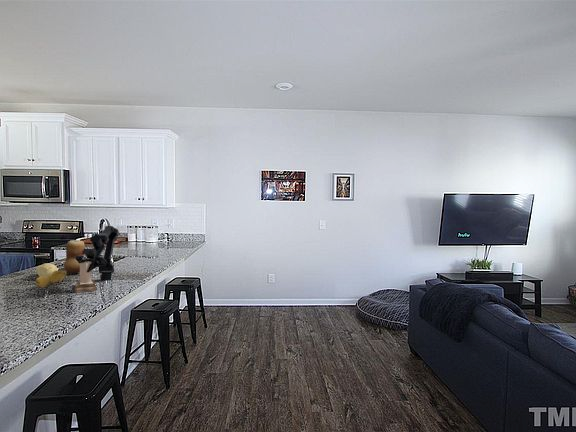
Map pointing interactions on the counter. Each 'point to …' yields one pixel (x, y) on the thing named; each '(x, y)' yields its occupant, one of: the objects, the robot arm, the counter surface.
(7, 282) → the counter surface
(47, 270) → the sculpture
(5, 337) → the counter surface
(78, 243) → the butternut squash
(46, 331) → the counter surface
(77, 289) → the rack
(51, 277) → the decorative fish
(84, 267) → the clay bar
